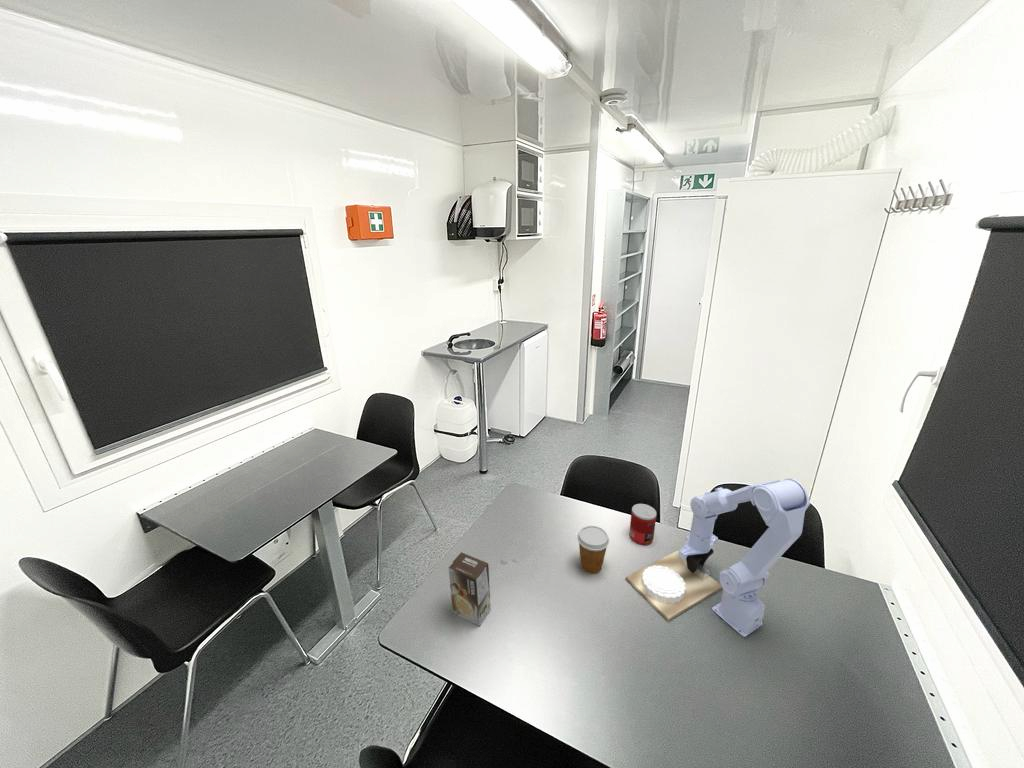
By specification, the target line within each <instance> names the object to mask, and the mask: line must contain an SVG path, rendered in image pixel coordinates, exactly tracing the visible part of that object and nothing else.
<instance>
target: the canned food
mask: <svg viewBox="0 0 1024 768" xmlns="http://www.w3.org/2000/svg"><path fill="white" fill-rule="evenodd" d="M656 522H657V510H656V509H655V508H654V507H652V506H651V505H649V504H646V503H645V504H644V503H636V504H634V505H633V506H632V507H631V515H630V522H629V523H630V524H629V532H628V533H629V537H630V539H631V540H632V541H633V542H634V543H636V544H638V545H641V546H645V545H646V546H648V545H650V544H651V543H653V540H654V536H655V528H656Z"/></svg>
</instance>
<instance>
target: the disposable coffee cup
mask: <svg viewBox="0 0 1024 768" xmlns="http://www.w3.org/2000/svg"><path fill="white" fill-rule="evenodd" d="M576 537H577V538H576V539H577V542H578V543H579V544H578V545H579V546H578V547H579V559H580V567H581V569H582V570H583V571H584V572H585V573H587V574H590V575H595V574H598V573H600V572H601V570H602V568H603V564H604V559H605V556H606V552H607V548H608V546H609V544H610V538H609V536H608V533H607V531H606V530H604V529H603V528H602V527H601V526H596V525H586V526H583V527H582V528H581V529H579V532H578V533H577V536H576Z"/></svg>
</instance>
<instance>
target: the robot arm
mask: <svg viewBox="0 0 1024 768" xmlns="http://www.w3.org/2000/svg"><path fill="white" fill-rule="evenodd" d="M714 490H715V491H712V492H711V491H708V492H704V495H699V496H694V497H693V498H691V499H690V504H689V505H690V509H691V511H692V513H693V514H692V519H691V526H690V531H689V534H688V535H686V537H685V539H686V540H687V541H686V543H685V544H684V546H682V548H681V549H679V551H678V552H679V556H680V557H681V558H682V559H683V560H685V559H686V561H687V568H688V569H689V570H690V571H691V572H692V573H694V572H695V571H696V568H697V565H698V563H700V564H701V565H702V566H705V563H706V562H707V560H708V559H709V558H710V557H711V556H712V555H713V554H714V553H715V551H714V549H713V548H712V547H713V545H715V544H718V539H719V538H718V536H716V535H715V534H713V532H714V527H715V523H716V520H717V519H718V516H719V515H721V514H724V513H728V512H733V511H735V510H736V509H737V508H738V505H739V504H742V503H746V502H751V504H752V506H753V507H754V506H755V507H756V508H757V510H758V512H759V514H760V516H761V518H762V520H763V522H764V523H765V525H766V526H768V528H766V530H765V531H764V533H763V534H762V535H761V536H760V538H758V540H756V542H754V544H753V546H752V547H751V548H750V549H749V550H748V552H747V553H745V555H744V556H743V558H741V560H739V561H738V562H736V563H735V564H733V565H731V566H729V568H727V569H723V570H721V571H720V572H719V582H720V583H719V584H720V585H721V586H722V593H721V599H720V602H719V603H717V604H716V605H714V606H713V607H711V610H712V611H713V612H714V613H715V614H716V615H717V616H719V618H721V619H723V621H724V622H725V623H726V624H727V625H729V626H730V627H731V628H732V629H733V630H735V631H736V632H737V633H738V634H739V635H741V636H742V637H743V638H747V636H749V635H750V634H751V633H753V632H754V631H756V630H757V629H759V628H760V627H761V626H763V619H764V615H765V612H766V605H765V604H764V603H763V602H762V601H761V600H760V599H759V597H758V596H757V593H758V592H759V590H760V589H763V588H765V586H766V585H767V579H768V577H769V576H770V573H769V570H770V569H771V567H772V566H773V565H774V564H775V563H776V562H777V561H778V560H779V559H780V558H781V557H782V556H783V555H784V553H786V551H787V550H788V549H789V548H790V547H791V546H793V544H794V543H795V542H796V541H797V540H798V539H799V538H800V537H801V536H802V534H803V528H804V521H805V515H806V514H805V513H806V510H807V509H808V508H809V506H810V505H811V501H810V497H809V495H808V493H807V490H806V488H805V486H804V485H803V484H802V483H801V482H800V481H798V480H797V479H794V478H785V479H783V480H780V479H777V480H771V481H764V482H763V481H762V482H758V483H754V484H748V485H747V486H744V487H741V488H738V489H736V490H731V489H729V488H723V487H717V488H714Z"/></svg>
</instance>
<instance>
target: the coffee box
mask: <svg viewBox="0 0 1024 768" xmlns="http://www.w3.org/2000/svg"><path fill="white" fill-rule="evenodd" d="M489 571H490V567H489V563H488V562H486V561H484V560H481V559H479V558H476V557H474V556H471V555H469V554H466V553H463V552H460V553H459V554H458V555H457V556H456V557H455V559H454V560H453V561H452V563H451V564H450V566H448V577H449V578H448V579H449V588H450V596H451V598H450V599H451V608H452V614H453V615H456V616H458V617H460V618H462V619H464V620H466V621H468V622H470V623H472V624H474V625H476V626H478V627H481V625H482V624H483V622H484V621H485V620H486V618H487V617H488V615H489V613H490V612H491V609H492V606H491V605H492V604H491V589H490V574H489V573H490V572H489Z"/></svg>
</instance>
